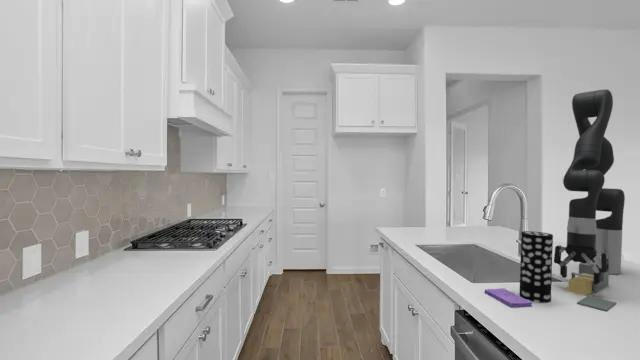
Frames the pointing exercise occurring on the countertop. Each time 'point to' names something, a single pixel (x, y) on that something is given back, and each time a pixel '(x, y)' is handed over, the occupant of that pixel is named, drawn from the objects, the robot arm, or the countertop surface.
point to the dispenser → (592, 276)
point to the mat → (597, 303)
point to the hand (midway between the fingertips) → (579, 280)
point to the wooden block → (580, 285)
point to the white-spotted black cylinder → (536, 266)
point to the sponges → (508, 298)
